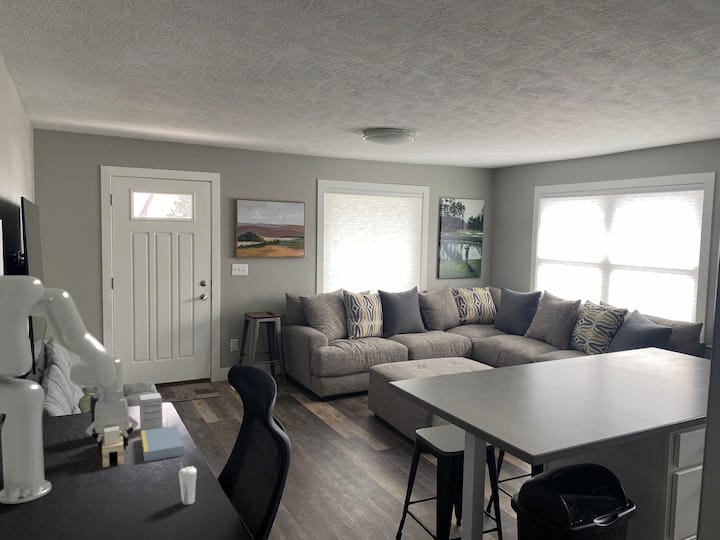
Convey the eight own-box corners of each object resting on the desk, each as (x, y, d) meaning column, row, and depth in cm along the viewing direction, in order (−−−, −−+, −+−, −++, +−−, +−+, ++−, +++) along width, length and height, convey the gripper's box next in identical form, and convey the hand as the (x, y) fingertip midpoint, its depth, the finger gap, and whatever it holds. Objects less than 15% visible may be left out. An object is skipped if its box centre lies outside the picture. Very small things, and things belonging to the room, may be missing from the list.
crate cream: (119, 443, 171) (119, 429, 171) (104, 445, 169) (104, 432, 169) (119, 438, 175) (118, 425, 175) (105, 441, 173) (104, 428, 173)
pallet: (124, 463, 169) (123, 445, 169) (102, 467, 167) (102, 448, 167) (123, 441, 189) (122, 424, 189) (104, 444, 187) (103, 427, 187)
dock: (184, 455, 176) (183, 445, 176) (144, 461, 171) (143, 452, 171) (176, 433, 196) (176, 425, 196) (141, 439, 191) (140, 430, 191)
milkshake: (189, 495, 147) (188, 459, 146) (201, 501, 144) (199, 463, 143) (174, 501, 143) (173, 464, 143) (185, 507, 140) (184, 469, 140)
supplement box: (140, 428, 202) (139, 395, 202) (161, 425, 206) (160, 392, 205) (141, 434, 196) (140, 400, 195) (163, 431, 199) (162, 397, 198)
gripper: (80, 402, 170) (83, 459, 171) (140, 395, 177) (142, 449, 178) (81, 396, 177) (84, 450, 178) (139, 389, 184) (141, 441, 185)
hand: (113, 449), depth 178 cm, fingers closed on pallet, 6 cm apart
